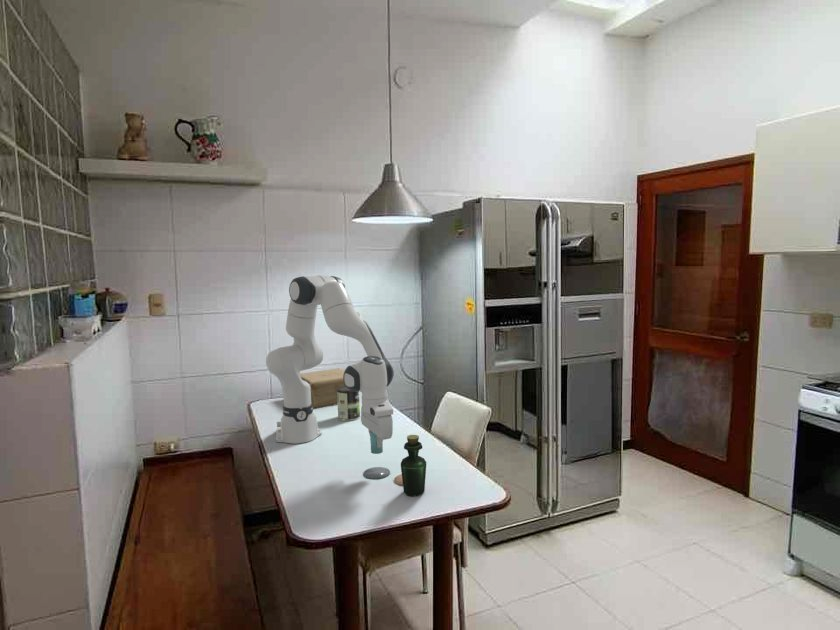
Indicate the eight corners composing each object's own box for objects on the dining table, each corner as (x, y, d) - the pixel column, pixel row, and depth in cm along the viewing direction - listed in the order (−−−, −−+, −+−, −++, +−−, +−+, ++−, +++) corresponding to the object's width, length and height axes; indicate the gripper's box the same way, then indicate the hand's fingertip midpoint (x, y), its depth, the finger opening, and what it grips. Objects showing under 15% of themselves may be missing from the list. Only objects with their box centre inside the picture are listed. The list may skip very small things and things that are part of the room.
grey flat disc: (360, 471, 180) (359, 470, 180) (384, 466, 184) (383, 465, 184) (369, 481, 172) (369, 479, 172) (394, 475, 176) (394, 474, 176)
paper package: (339, 390, 291) (338, 366, 290) (360, 400, 270) (359, 374, 269) (293, 398, 277) (291, 373, 275) (311, 410, 255) (310, 382, 254)
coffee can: (361, 414, 246) (360, 385, 244) (358, 421, 236) (357, 390, 234) (339, 414, 246) (338, 385, 245) (336, 421, 236) (334, 391, 234)
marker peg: (369, 450, 178) (368, 431, 177) (380, 448, 180) (379, 429, 179) (373, 454, 174) (372, 434, 173) (384, 452, 176) (383, 432, 175)
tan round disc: (389, 477, 174) (389, 476, 174) (414, 472, 178) (414, 471, 178) (401, 488, 166) (400, 487, 166) (426, 482, 170) (425, 481, 170)
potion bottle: (400, 487, 167) (399, 433, 165) (426, 485, 167) (424, 431, 165) (401, 498, 159) (400, 442, 157) (428, 497, 159) (427, 440, 157)
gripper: (355, 399, 183) (357, 437, 184) (377, 413, 165) (378, 455, 166) (372, 396, 186) (373, 433, 187) (395, 410, 168) (396, 452, 169)
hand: (376, 444), depth 177 cm, fingers closed on marker peg, 4 cm apart
